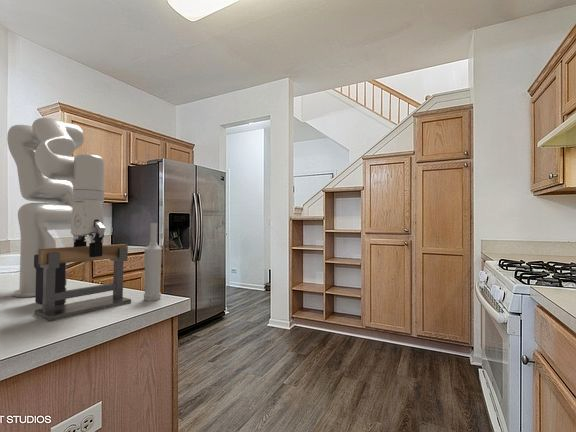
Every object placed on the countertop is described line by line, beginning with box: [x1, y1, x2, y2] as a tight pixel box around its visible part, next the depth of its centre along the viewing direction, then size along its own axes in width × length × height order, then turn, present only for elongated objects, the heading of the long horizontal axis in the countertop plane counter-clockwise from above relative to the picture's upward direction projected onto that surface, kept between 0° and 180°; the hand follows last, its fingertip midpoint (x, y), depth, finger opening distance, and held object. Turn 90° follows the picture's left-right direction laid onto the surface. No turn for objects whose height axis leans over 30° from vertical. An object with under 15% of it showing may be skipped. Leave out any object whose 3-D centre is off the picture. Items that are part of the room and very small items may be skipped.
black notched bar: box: [34, 254, 68, 306], centre depth 91 cm, size 11×4×15 cm, turn 63°
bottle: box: [143, 222, 163, 302], centre depth 98 cm, size 5×5×25 cm
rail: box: [38, 243, 129, 265], centre depth 87 cm, size 3×22×4 cm, turn 147°
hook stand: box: [33, 248, 132, 322], centre depth 87 cm, size 10×21×17 cm, turn 147°
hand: (87, 255), depth 87 cm, fingers open, 9 cm apart
